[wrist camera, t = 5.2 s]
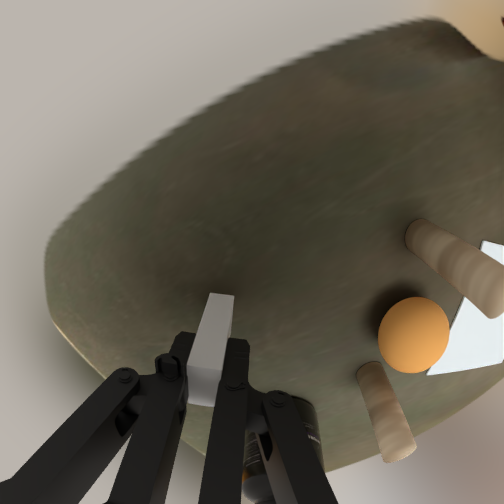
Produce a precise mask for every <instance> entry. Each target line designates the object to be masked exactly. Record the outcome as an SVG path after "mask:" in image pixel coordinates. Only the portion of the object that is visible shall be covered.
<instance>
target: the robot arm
mask: <svg viewBox="0 0 504 504" xmlns="http://www.w3.org/2000/svg"><path fill="white" fill-rule="evenodd" d="M233 305H234V296H232V295H224V294H217V293H210V295H209V298H208V301H207V304H206V307H205V310H204V313H203V316H202V319H201V322H200V325H199V328H198V331H197V334H195V333H189V332H180V333H179V334H178V335H177V336H176V337H175V339H174V342H173V344H172V347H171V349H170V351H169V353H166V354H161V355H160V356H158V357H157V358H156V359H155V367H156V373H155V374H152V375H138V373H137V372H136V371H135V370H134V369H131V368H119V369H117V370H115V371H114V372H113V373H112V374H111V375H110V376H109V377H108V378H107V379H106V380H105V381H104V382H103V383H102V384H101V385H100V386H99V387H98V388H97V389H96V390H95V391H94V392H93V393H92V394H91V395H90V396H89V397H88V398H87V399H86V400H85V402H83V404H82V405H81V406H80V407H79V408H78V409H77V410H76V411H75V412H74V413H73V414H72V415H71V416H70V417H69V418H68V419H67V420H66V421H65V422H64V423H63V424H62V425H61V426H60V427H59V428H58V429H57V430H56V431H55V432H54V434H53V435H52V436H51V437H50V438H49V439H48V440H47V441H46V442H45V443H44V444H43V445H42V446H41V447H40V448H39V449H38V450H37V451H36V452H35V453H34V454H33V456H32V457H31V458H30V459H29V460H28V461H27V462H26V463H25V464H24V465H23V466H22V467H21V468H20V469H19V470H18V471H17V472H16V474H15V475H14V476H13V477H12V478H10V479H8V480H5V481H3V482H0V504H78V503H79V502H80V501H81V499H82V498H83V497H84V495H85V494H86V493H87V492H88V490H89V489H90V488H91V486H92V485H93V484H94V483H95V481H96V480H97V478H98V477H99V476H100V475H101V474H102V472H103V471H104V470H105V468H106V467H107V466H108V464H109V463H110V462H111V460H112V459H113V458H114V457H115V455H116V454H117V453H118V451H119V450H120V449H121V447H122V446H123V445H124V443H125V442H126V441H127V439H128V438H129V437H130V435H131V434H132V435H131V438H130V441H129V443H128V446H127V449H126V451H125V454H124V457H123V459H122V462H121V465H120V468H119V471H118V473H117V476H116V479H115V482H114V485H113V488H112V491H111V494H110V497H109V499H108V501H107V502H106V503H104V504H165V499H166V495H167V491H168V486H169V482H170V478H171V473H172V469H173V465H174V461H175V456H176V452H177V448H178V444H179V440H180V436H181V432H182V428H183V424H184V420H185V416H186V404H187V400H188V403H191V404H196V405H203V406H209V407H214V412H213V417H212V423H211V429H210V435H209V441H208V447H207V453H206V459H205V465H204V471H203V477H202V483H201V489H200V495H199V502H198V504H241V491H242V476H243V461H244V446H245V430H249V431H252V432H254V433H255V434H256V438H257V441H258V445H259V448H260V452H261V455H262V458H263V462H264V465H265V469H266V472H267V475H268V478H269V482H270V485H271V488H272V491H273V495H274V498H275V501H276V504H338V502H337V500H336V497H335V495H334V493H333V491H332V488H331V486H330V484H329V482H328V480H327V477H326V475H325V473H324V470H323V468H322V466H321V464H320V461H319V459H318V457H317V455H316V452H315V450H314V448H313V445H312V443H311V441H310V438H309V436H308V434H307V432H306V429H305V427H304V425H303V422H302V420H301V418H300V415H299V413H298V410H297V408H296V406H295V403H294V401H293V399H292V398H291V396H290V395H289V394H287V393H286V392H283V391H279V390H274V391H270V392H268V393H267V394H265V393H262V392H259V391H257V390H255V389H254V388H252V387H251V386H250V384H249V382H248V369H249V353H250V345H249V344H248V342H247V340H244V339H236V338H230V334H231V325H232V315H233Z"/></svg>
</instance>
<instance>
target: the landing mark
mask: <svg viewBox="0 0 504 504" xmlns="http://www.w3.org/2000/svg"><path fill="white" fill-rule="evenodd" d="M480 251H482V252H484V253H485V254H487V255H488V256H490V257H492V258H493V259H495V260H496V261H498V262H499V263H501V264H503V265H504V246H503V245H499V244H496V243H492V242H488V241H484V240H482V243H481V247H480ZM503 359H504V312H503V313H502V314H501V315H500V316H499V317H497V318H494V319H489V318H487V317H486V316H485V315H484V314H483V313H482V312H481V311H480V310H479V309H478V308H477V307H476V306H475V305H474V304H472V303H471V302H470V301H469V300H468V299H467V298H466V297H465V296H463V299H462V301H461V304H460V306H459V309H458V311H457V313H456V316H455V318H454V320H453V322H452V324H451V327H450V335H449V341H448V345H447V347H446V350H445V352H444V353H443V355H442V356H441V358H440V359H439V360H438V361H437V362H436V363H435V364H434V365H433V366H431V367H430V368H429V369H428V371H427V373H426V375H433V374H441V373H449V372H455V371H462V370H468V369H473V368H479V367H484V366H489V365H493V364H498V363H502V361H503Z"/></svg>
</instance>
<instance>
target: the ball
mask: <svg viewBox="0 0 504 504" xmlns="http://www.w3.org/2000/svg"><path fill="white" fill-rule="evenodd" d="M449 335H450V329H449V322H448V319H447V317H446V314H445V313H444V311H443V310H442V309H441V307H440V306H439V305H438V304H436V303H435V302H434V301H432V300H430V299H427V298H423V297H410V298H407V299H404V300H401V301H400V302H398V303H396V304H395V305H394V306H393V307H391V308H390V309H389V310H388V312H387V313H386V314H385V316H384V318H383V319H382V322H381V324H380V327H379V332H378V345H379V349H380V352H381V354H382V357H383V358H384V360H385V361H386V362H387V363H388V364H389V365H390V366H391V367H392V368H394V369H396V370H398V371H401V372H405V373H417V372H421V371H424V370H426V369H428V368H430V367H431V366H433V365H434V364H435V363H436V362H437V361H438V360H439V359H440V358H441V356H442V355H443V353H444V352H445V350H446V347H447V345H448V341H449Z"/></svg>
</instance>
